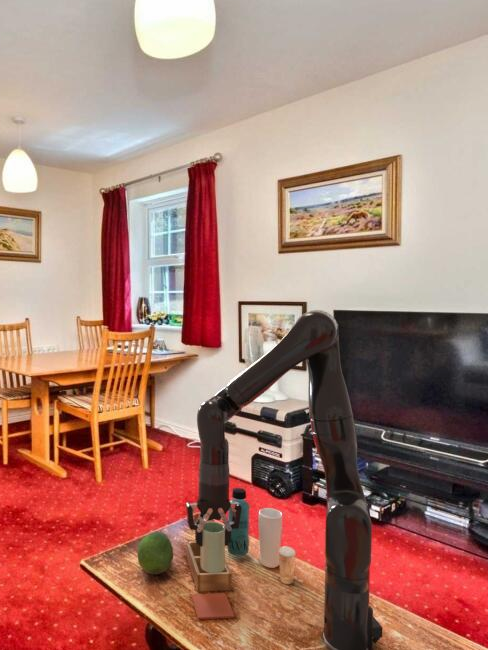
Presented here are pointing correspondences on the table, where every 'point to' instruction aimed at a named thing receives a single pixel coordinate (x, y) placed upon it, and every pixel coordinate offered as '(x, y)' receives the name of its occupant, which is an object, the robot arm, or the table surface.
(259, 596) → the table surface
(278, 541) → the drinking glass
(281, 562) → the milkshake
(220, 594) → the coaster mat
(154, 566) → the fruit
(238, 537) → the beverage bottle
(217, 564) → the cup
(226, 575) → the brown wooden shelf
